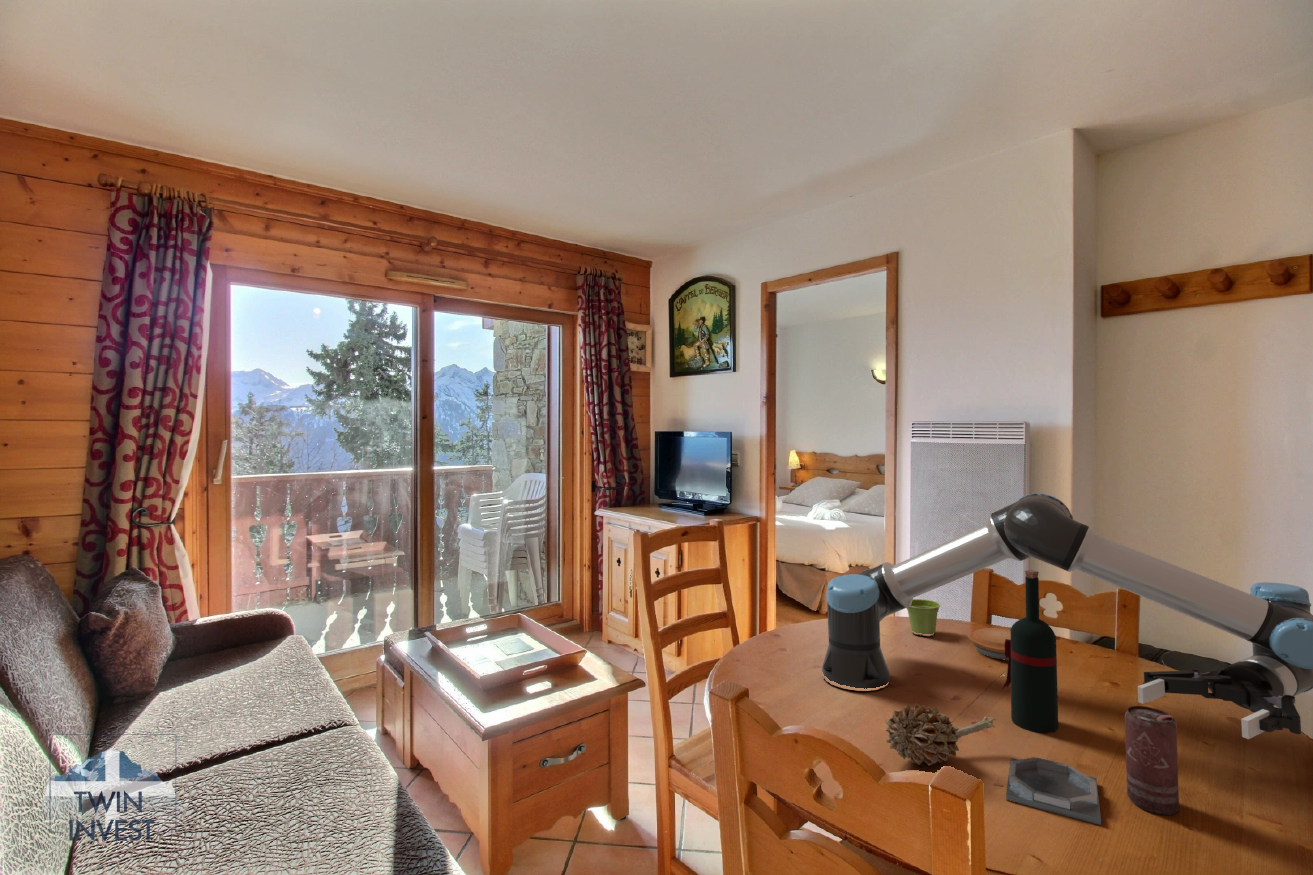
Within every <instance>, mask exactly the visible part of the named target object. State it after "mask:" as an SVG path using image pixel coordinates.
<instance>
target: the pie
mask: <svg viewBox="0 0 1313 875" xmlns="http://www.w3.org/2000/svg"><path fill="white" fill-rule="evenodd" d="M968 639H969V640H970V642H972V644H973V646H975V648H976V650H977V651H978V653H980V654H981V653H982V654H981V655H983V654H984V655H983V656H985V655H988V656H990V657H993V658H992V659H994V658H997V659H996V660H998V659H1005V660H1008V659H1009V658H1006V657H1005V639H1009V640H1011V632H1010V629H1008V628H1003V627H1002V628H1001V627H983V628H979V629H976V630H973V631H971V632H969V634H968ZM990 657H989V658H990ZM1005 660H1004V661H1005Z"/></svg>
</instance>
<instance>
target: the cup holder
mask: <svg viewBox="0 0 1313 875" xmlns="http://www.w3.org/2000/svg"><path fill="white" fill-rule="evenodd" d="M1008 768H1009V769H1008V770H1009V771H1008V775H1007V776H1008V777H1007V778H1008V779H1007V784H1006V792H1005V796H1006V797H1005V799H1006V800H1005V801H1007V800H1011V801H1015V802H1017V803H1016V804H1019V805H1022V806H1026V805H1027V807H1030V808H1035V809H1038V810H1042V811H1045V812H1050V813H1052V814H1056V815H1060V816H1064V817H1066V818H1067V817H1068V818H1072V819H1075V820H1079V821H1082V822H1086V823H1090V824H1095V825H1099V826H1102V816H1101V809H1100V799H1099V798H1100V797H1099V790H1098V780H1097V779H1098V778H1097V777H1094V776H1090V775H1087V774H1085V773H1083V772H1081V771H1080V770H1078V769H1077V768H1075V767H1074V766H1071V765H1070V764H1067V763H1062V762H1058V761H1053V760H1050V759H1045V758H1041V757H1028V758H1021V759H1017V758H1013V757H1010V761H1009V767H1008ZM1011 801H1010V802H1011ZM1015 802H1014V803H1015Z"/></svg>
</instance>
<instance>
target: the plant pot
mask: <svg viewBox="0 0 1313 875" xmlns="http://www.w3.org/2000/svg"><path fill="white" fill-rule="evenodd" d="M940 607H941V604H940V603H939V602H937V601H934V600H930V599H923V598H922V599H920V598H919V599H918V598H917V599H916V598H915V599H914V598H913V600H912V604H911V606H909V607H907V608H906V610H907V614H908V615H907V616H908V619H909V625H910V631H911V630H912V631H914V632H916V633H922V634H933V633H935V634H936V632H937V631H936V628H937V620H938V612H939V609H940ZM912 631H911V632H912Z"/></svg>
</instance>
